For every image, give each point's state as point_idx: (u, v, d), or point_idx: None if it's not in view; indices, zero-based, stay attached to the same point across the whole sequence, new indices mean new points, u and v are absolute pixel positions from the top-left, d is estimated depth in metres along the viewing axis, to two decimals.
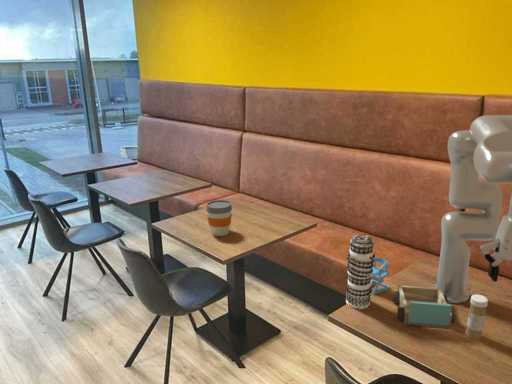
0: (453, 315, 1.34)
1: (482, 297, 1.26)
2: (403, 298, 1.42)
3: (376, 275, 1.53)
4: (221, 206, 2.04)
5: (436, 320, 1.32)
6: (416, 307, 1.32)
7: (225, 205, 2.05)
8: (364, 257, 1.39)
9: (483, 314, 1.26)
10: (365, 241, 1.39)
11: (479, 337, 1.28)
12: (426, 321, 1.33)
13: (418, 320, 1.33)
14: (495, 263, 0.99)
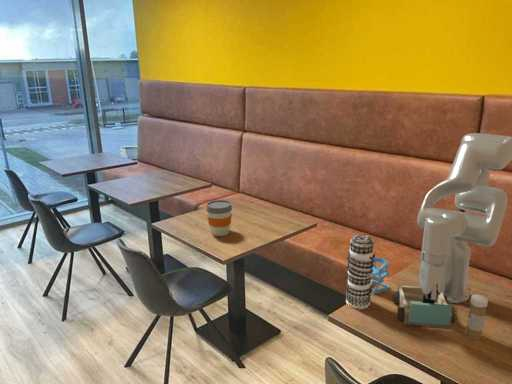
0: (453, 315, 1.34)
1: (482, 297, 1.26)
2: (403, 298, 1.42)
3: (376, 275, 1.53)
4: (221, 206, 2.04)
5: (436, 320, 1.32)
6: (416, 308, 1.32)
7: (225, 205, 2.05)
8: (364, 257, 1.39)
9: (483, 314, 1.26)
10: (365, 241, 1.39)
11: (479, 337, 1.28)
12: (426, 321, 1.33)
13: (418, 320, 1.33)
14: None
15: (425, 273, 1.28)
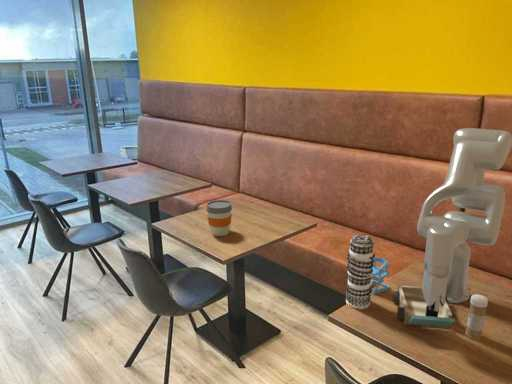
0: (453, 315, 1.34)
1: (482, 297, 1.26)
2: (403, 298, 1.42)
3: (376, 275, 1.53)
4: (221, 206, 2.04)
5: (437, 324, 1.31)
6: (418, 320, 1.29)
7: (225, 205, 2.05)
8: (364, 257, 1.39)
9: (483, 314, 1.26)
10: (365, 241, 1.39)
11: (479, 337, 1.28)
12: (426, 324, 1.33)
13: (418, 323, 1.33)
14: None
15: (428, 284, 1.24)
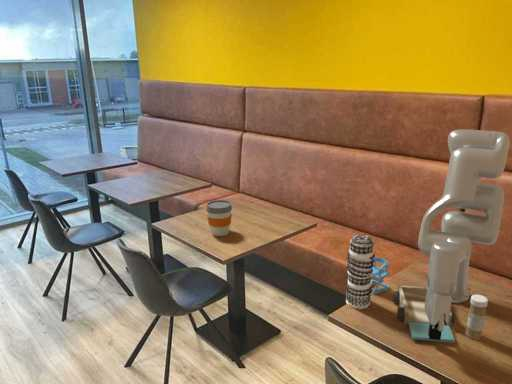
0: (453, 315, 1.34)
1: (482, 297, 1.26)
2: (403, 298, 1.42)
3: (376, 275, 1.53)
4: (221, 206, 2.04)
5: None
6: None
7: (225, 205, 2.05)
8: (364, 257, 1.39)
9: (483, 314, 1.26)
10: (365, 241, 1.39)
11: (479, 337, 1.28)
12: None
13: None
14: None
15: (432, 302, 1.19)
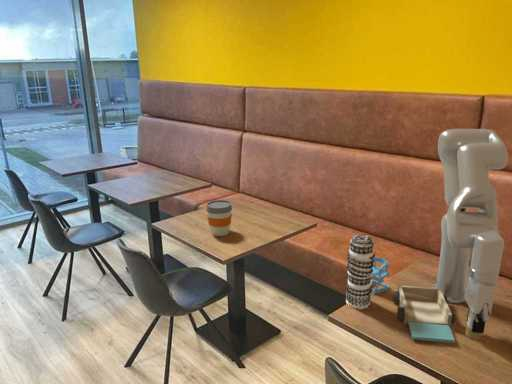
0: (453, 315, 1.34)
1: None
2: (403, 298, 1.42)
3: (376, 275, 1.53)
4: (221, 206, 2.04)
5: None
6: None
7: (225, 205, 2.05)
8: (364, 257, 1.39)
9: None
10: (365, 241, 1.39)
11: (479, 337, 1.28)
12: None
13: None
14: None
15: (474, 292, 1.23)
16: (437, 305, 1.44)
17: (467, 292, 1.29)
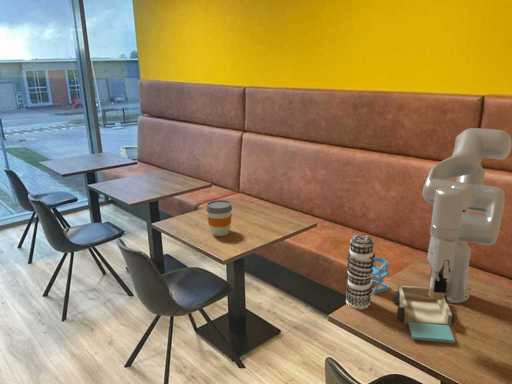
0: (453, 315, 1.34)
1: None
2: (403, 298, 1.42)
3: (376, 275, 1.53)
4: (221, 206, 2.04)
5: None
6: None
7: (225, 205, 2.05)
8: (364, 257, 1.39)
9: None
10: (365, 241, 1.39)
11: (442, 297, 1.24)
12: None
13: None
14: None
15: (435, 249, 1.19)
16: (437, 305, 1.44)
17: (429, 251, 1.25)
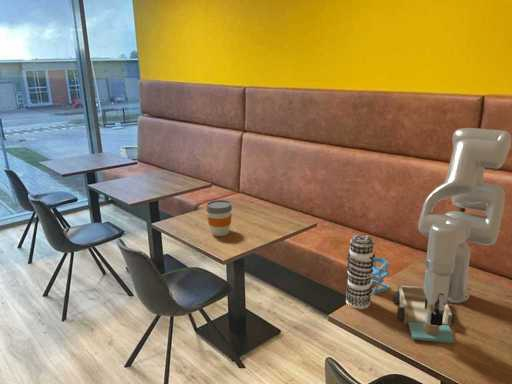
0: (453, 315, 1.34)
1: None
2: (403, 298, 1.42)
3: (376, 275, 1.53)
4: (221, 206, 2.04)
5: None
6: None
7: (225, 205, 2.05)
8: (364, 257, 1.39)
9: None
10: (365, 241, 1.39)
11: (436, 332, 1.28)
12: None
13: None
14: None
15: (430, 283, 1.22)
16: None
17: (425, 283, 1.28)
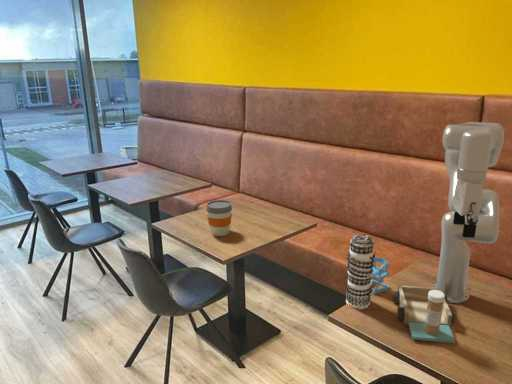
0: (453, 315, 1.34)
1: (439, 293, 1.26)
2: (403, 298, 1.42)
3: (376, 275, 1.53)
4: (221, 206, 2.04)
5: None
6: None
7: (225, 205, 2.05)
8: (364, 257, 1.39)
9: (440, 309, 1.25)
10: (365, 241, 1.39)
11: (436, 332, 1.28)
12: None
13: None
14: None
15: (462, 192, 1.18)
16: None
17: (455, 197, 1.24)
